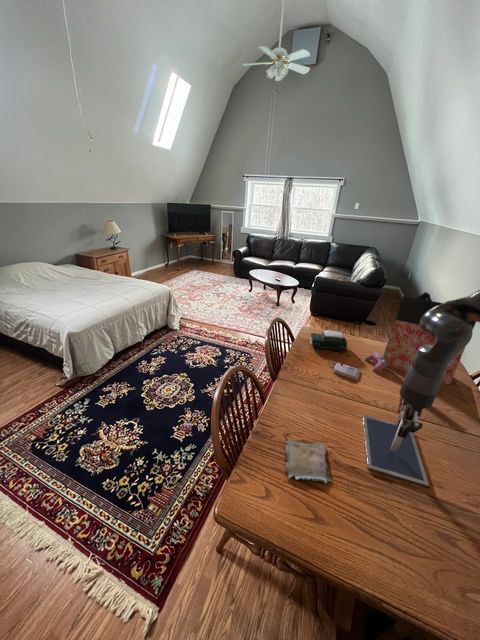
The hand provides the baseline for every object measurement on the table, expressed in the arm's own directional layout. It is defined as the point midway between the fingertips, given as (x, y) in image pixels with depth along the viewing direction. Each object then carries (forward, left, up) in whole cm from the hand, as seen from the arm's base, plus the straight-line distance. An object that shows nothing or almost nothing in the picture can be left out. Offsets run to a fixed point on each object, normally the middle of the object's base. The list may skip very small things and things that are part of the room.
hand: (400, 433), depth 76 cm
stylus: (0, 0, -7) cm, 7 cm away
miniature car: (+21, -59, -9) cm, 63 cm away
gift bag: (-16, -54, -9) cm, 57 cm away
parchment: (+24, +11, -9) cm, 28 cm away
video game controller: (0, -49, -9) cm, 49 cm away
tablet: (0, -3, -9) cm, 9 cm away
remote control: (+13, -39, -9) cm, 42 cm away
